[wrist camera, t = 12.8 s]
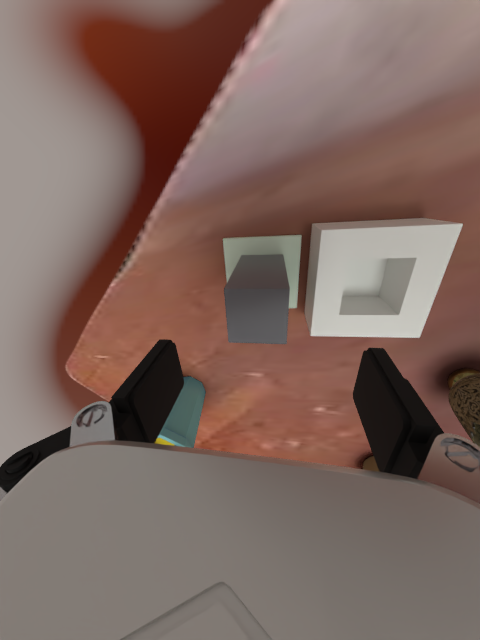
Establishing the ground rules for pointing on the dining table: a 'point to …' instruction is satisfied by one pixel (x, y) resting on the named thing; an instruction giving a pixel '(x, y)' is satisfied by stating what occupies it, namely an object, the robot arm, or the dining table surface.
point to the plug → (258, 300)
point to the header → (376, 275)
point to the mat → (267, 246)
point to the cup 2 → (466, 400)
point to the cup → (184, 416)
